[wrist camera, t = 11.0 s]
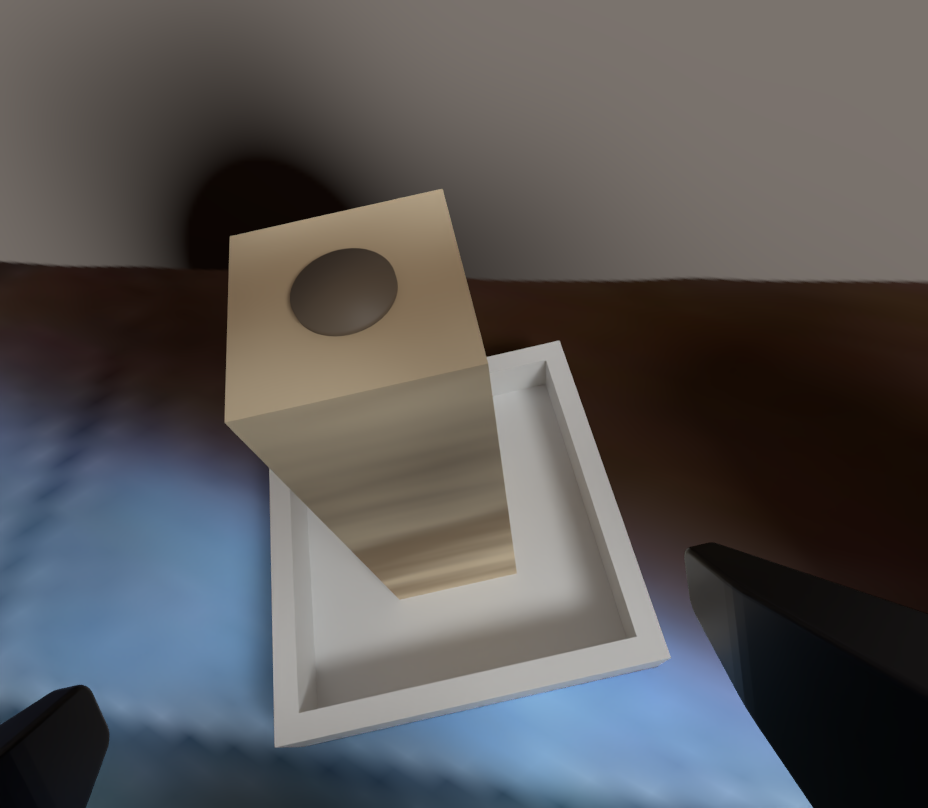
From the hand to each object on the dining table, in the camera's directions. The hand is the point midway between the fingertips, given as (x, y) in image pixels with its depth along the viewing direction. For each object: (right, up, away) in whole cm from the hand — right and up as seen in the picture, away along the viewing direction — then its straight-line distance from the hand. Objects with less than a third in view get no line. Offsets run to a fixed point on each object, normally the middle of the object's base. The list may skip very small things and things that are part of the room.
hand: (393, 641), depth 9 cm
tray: (0, -2, +15) cm, 15 cm away
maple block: (0, -1, +14) cm, 14 cm away
